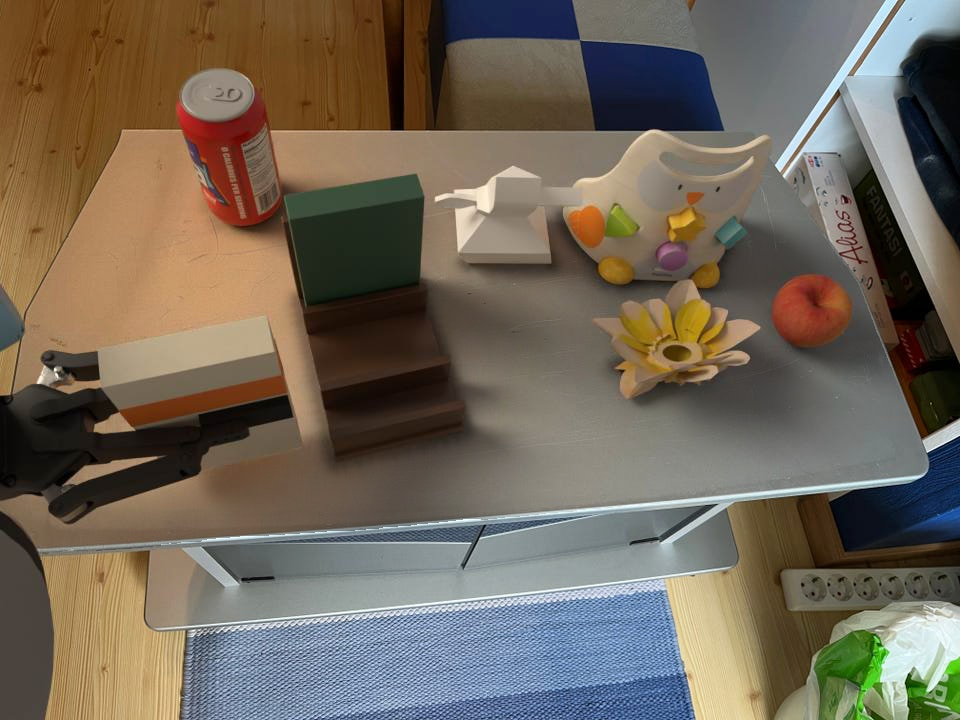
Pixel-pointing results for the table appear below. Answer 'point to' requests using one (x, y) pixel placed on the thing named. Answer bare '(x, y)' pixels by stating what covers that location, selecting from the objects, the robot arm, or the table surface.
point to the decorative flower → (674, 340)
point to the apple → (811, 310)
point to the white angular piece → (506, 217)
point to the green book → (357, 238)
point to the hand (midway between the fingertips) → (285, 385)
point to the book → (202, 384)
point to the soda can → (230, 145)
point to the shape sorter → (666, 211)
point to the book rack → (378, 369)
